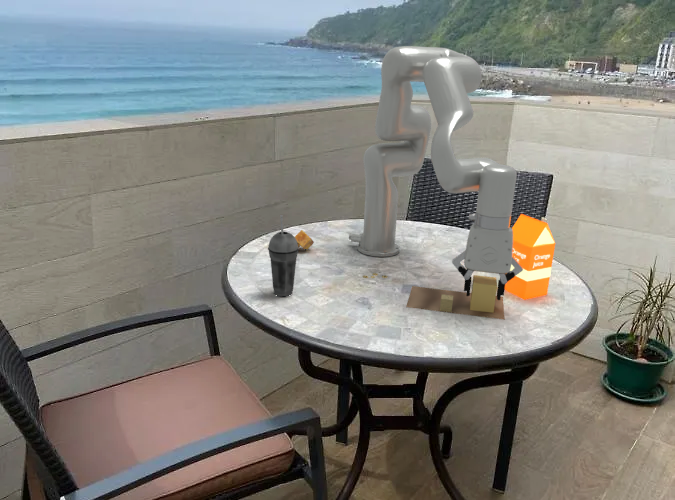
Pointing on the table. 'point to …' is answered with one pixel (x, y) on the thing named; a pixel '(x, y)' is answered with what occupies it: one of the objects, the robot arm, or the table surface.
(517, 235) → the orange juice
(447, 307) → the wooden stub
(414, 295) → the board
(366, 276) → the set of tan pieces
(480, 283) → the tan rectangular block
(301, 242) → the pyrite
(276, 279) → the beverage cup
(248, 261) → the table surface
